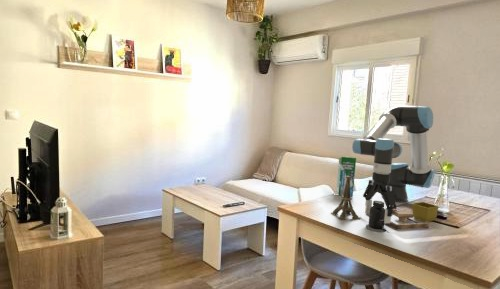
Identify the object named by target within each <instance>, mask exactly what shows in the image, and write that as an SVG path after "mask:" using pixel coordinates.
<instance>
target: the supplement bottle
mask: <svg viewBox="0 0 500 289" xmlns="http://www.w3.org/2000/svg"><path fill="white" fill-rule="evenodd" d="M385 209H386V208H385V201H382V200H372V207H371V208H370V215H368V223H367V224H368V225H369V227H371V228H374V229H383V228H384V227H385V224H384V219H385ZM384 229H385V228H384Z"/></svg>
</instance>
